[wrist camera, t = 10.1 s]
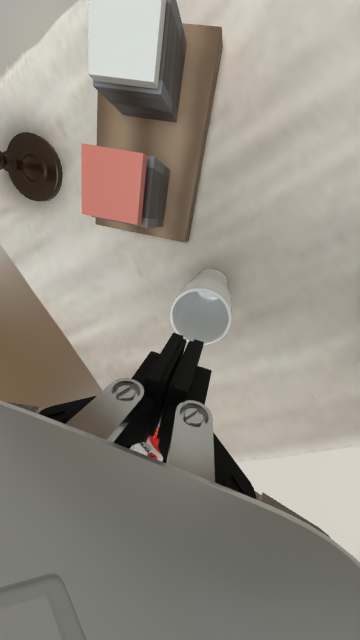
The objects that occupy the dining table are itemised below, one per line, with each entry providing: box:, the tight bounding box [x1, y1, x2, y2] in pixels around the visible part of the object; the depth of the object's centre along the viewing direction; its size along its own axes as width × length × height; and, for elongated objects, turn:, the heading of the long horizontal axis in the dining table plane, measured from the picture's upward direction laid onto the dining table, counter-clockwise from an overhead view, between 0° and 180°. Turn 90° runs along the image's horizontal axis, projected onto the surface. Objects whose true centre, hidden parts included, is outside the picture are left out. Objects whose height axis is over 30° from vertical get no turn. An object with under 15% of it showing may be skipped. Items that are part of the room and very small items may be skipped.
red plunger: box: [82, 144, 147, 225], centre depth 28 cm, size 6×6×8 cm
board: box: [92, 0, 223, 242], centre depth 28 cm, size 14×22×10 cm, turn 170°
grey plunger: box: [88, 0, 166, 89], centre depth 24 cm, size 6×6×8 cm
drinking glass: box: [170, 269, 232, 345], centre depth 32 cm, size 7×7×15 cm
